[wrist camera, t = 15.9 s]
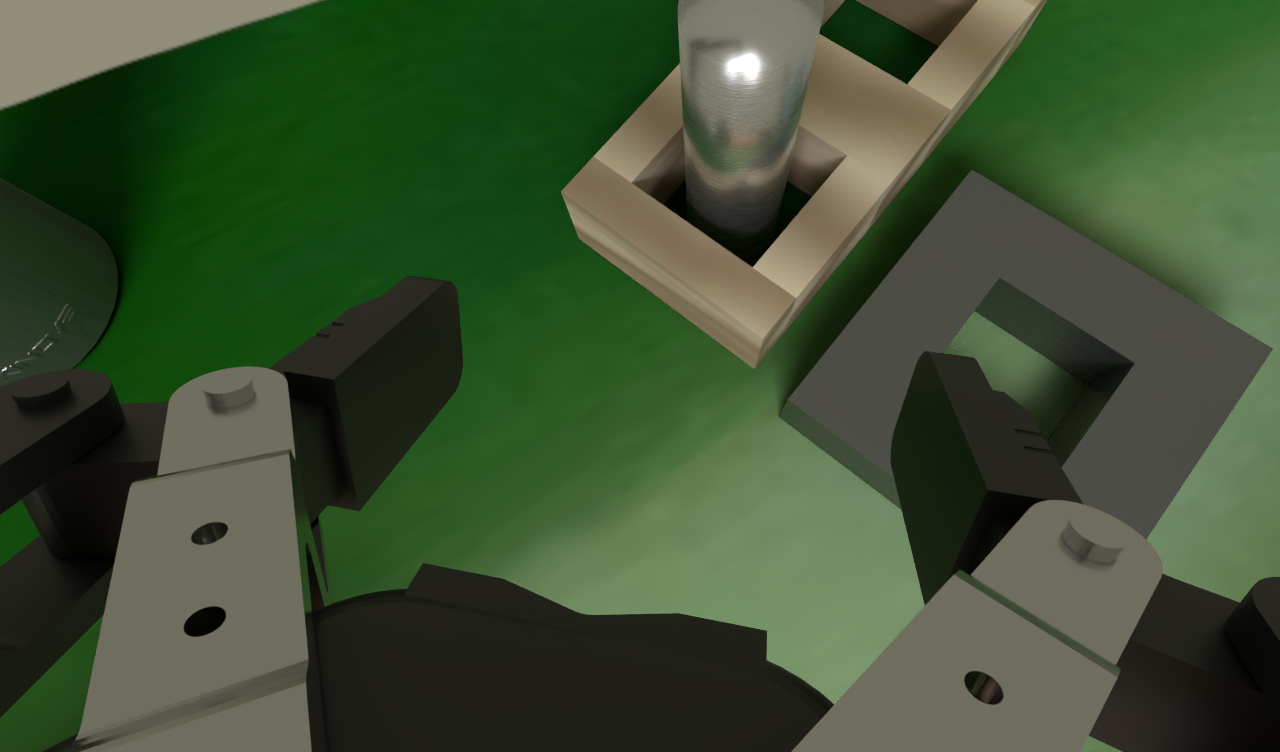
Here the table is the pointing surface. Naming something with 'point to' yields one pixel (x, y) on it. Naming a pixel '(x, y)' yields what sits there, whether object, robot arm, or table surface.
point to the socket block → (1053, 326)
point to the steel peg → (742, 111)
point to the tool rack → (792, 171)
